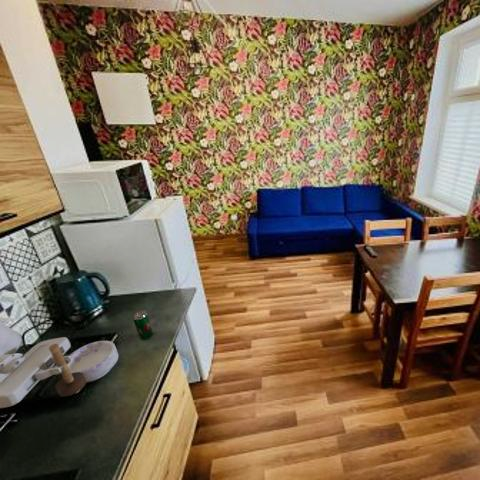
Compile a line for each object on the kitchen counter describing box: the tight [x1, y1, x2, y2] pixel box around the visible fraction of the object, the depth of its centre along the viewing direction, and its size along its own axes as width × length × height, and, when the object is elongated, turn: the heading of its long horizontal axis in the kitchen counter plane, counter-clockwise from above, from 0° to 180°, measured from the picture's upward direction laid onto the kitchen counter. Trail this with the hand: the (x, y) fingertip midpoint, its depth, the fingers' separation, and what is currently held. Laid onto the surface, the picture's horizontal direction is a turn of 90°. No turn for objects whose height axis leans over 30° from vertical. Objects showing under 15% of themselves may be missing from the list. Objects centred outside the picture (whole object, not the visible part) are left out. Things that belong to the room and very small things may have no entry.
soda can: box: [132, 310, 154, 341], centre depth 114 cm, size 5×5×12 cm
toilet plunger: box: [49, 344, 87, 398], centre depth 73 cm, size 6×6×15 cm
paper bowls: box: [67, 340, 119, 383], centre depth 98 cm, size 15×15×8 cm
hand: (65, 364), depth 73 cm, fingers closed on toilet plunger
